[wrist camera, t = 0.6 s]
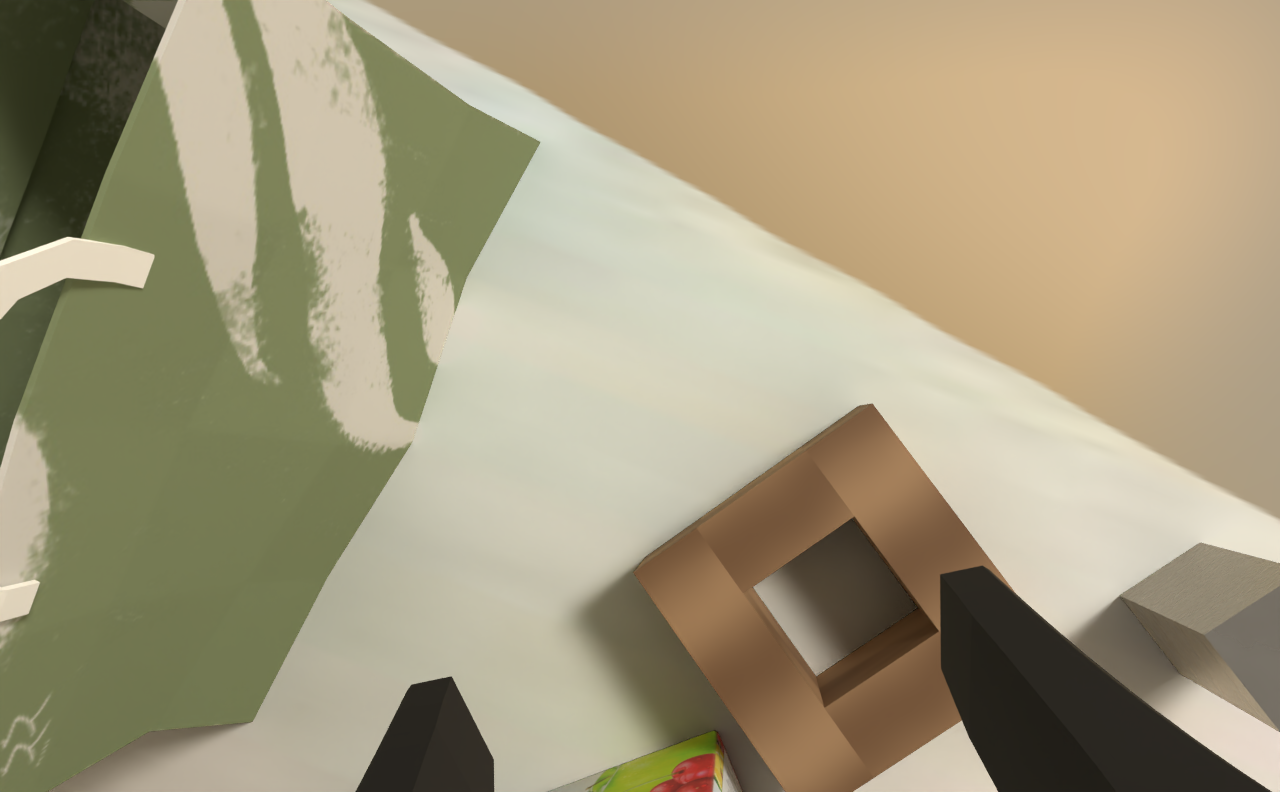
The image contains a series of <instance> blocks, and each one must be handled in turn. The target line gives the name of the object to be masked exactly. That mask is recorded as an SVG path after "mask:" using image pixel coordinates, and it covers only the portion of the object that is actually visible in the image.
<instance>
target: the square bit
mask: <svg viewBox="0 0 1280 792" xmlns="http://www.w3.org/2000/svg"><path fill="white" fill-rule="evenodd" d="M1120 597H1121V598H1122V599H1123V601H1124V602H1125V603H1126V604H1127V606H1128V607H1129V608H1130V610H1131V611H1132V612H1133V614H1134V615H1135V616H1136V617H1137V619H1138V620H1139V621H1140V623H1141V624H1142V625H1143V626H1144V628H1145V629H1146V630H1147V632H1148V633H1149V634H1150V636H1151V637H1152V638H1153V639H1154V641H1155V642H1156V643H1157V645H1158V646H1159V647H1160V649H1161V650H1162V651H1163V652H1164V654H1165V655H1166V656H1167V658H1168V659H1169V660H1170V661H1171V663H1172V664H1173V665H1174V667H1175V668H1176V669H1177V671H1178V672H1179V673H1180V674H1181V675H1183V676H1184V677H1186V678H1188V679H1190V680H1191V681H1193V682H1195V683H1196V684H1198V685H1200V686H1202V687H1203V688H1205V689H1207V690H1208V691H1210V692H1212V693H1214V694H1215V695H1217V696H1219V697H1220V698H1222V699H1224V700H1226V701H1227V702H1229V703H1231V704H1232V705H1234V706H1236V707H1238V708H1239V709H1241V710H1243V711H1245V712H1246V713H1248V714H1250V715H1251V716H1253V717H1255V718H1257V719H1258V720H1260V721H1262V722H1263V723H1265V724H1267V725H1269V726H1270V727H1272V728H1274V729H1275V730H1277V731H1279V732H1280V563H1276V562H1273V561H1269V560H1265V559H1261V558H1257V557H1254V556H1250V555H1246V554H1242V553H1238V552H1235V551H1231V550H1227V549H1223V548H1219V547H1216V546H1212V545H1208V544H1204V543H1199V544H1197V545H1196V546H1194V547H1193V548H1191V549H1190V550H1188V551H1186V552H1185V553H1183V554H1182V555H1180V556H1179V557H1177V558H1176V559H1174V560H1173V561H1171V562H1170V563H1168V564H1167V565H1165V566H1164V567H1162V568H1161V569H1159V570H1158V571H1156V572H1155V573H1153V574H1152V575H1150V576H1148V577H1147V578H1145V579H1144V580H1142V581H1141V582H1139V583H1138V584H1136V585H1135V586H1133V587H1132V588H1130V589H1129V590H1127V591H1126V592H1124V593H1123V594H1121V595H1120Z"/></svg>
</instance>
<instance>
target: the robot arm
mask: <svg viewBox="0 0 1280 792" xmlns="http://www.w3.org/2000/svg"><path fill="white" fill-rule="evenodd" d="M940 631H941V670H942V672H943V675H944V677H945V680H946V682H947V685H948V687H949V690H950V692H951V695H952V697H953V700H954V702H955V705H956V707H957V709H958V712H959V714H960V717H961V719H962V721H963V724H964V726H965V728H966V731H967V733H968V736H969V738H970V740H971V742H972V743H973V745H974V747H975V749H976V751H977V753H978V755H979V757H980V758H981V760H982V762H983V764H984V766H985V768H986V770H987V771H988V773H989V775H990V777H991V779H992V781H993V783H994V784H995V786H996V788H997V790H998V792H1271V791H1270V790H1268V789H1267V788H1265V787H1264V786H1262V785H1261V784H1259V783H1258V782H1256V781H1255V780H1253V779H1252V778H1250V777H1249V776H1247V775H1246V774H1244V773H1243V772H1241V771H1240V770H1238V769H1237V768H1235V767H1234V766H1232V765H1231V764H1229V763H1228V762H1227V761H1225V760H1224V759H1222V758H1221V757H1219V756H1218V755H1216V754H1215V753H1214V752H1212V751H1211V750H1209V749H1208V748H1207V747H1205V746H1204V745H1202V744H1201V743H1200V742H1198V741H1197V740H1195V739H1194V738H1193V737H1191V736H1190V735H1189V734H1187V733H1186V732H1184V731H1183V730H1182V729H1180V728H1179V727H1178V726H1176V725H1175V724H1174V723H1172V722H1171V721H1170V720H1168V719H1167V718H1166V717H1164V716H1163V715H1161V714H1160V713H1159V712H1157V711H1156V710H1155V709H1153V708H1152V707H1151V706H1150V705H1148V704H1147V703H1146V702H1144V701H1143V700H1142V699H1140V698H1139V697H1138V696H1137V695H1135V694H1134V693H1133V692H1131V691H1130V690H1129V689H1128V688H1126V687H1125V686H1124V685H1123V684H1121V683H1120V682H1119V681H1118V680H1116V679H1115V678H1114V677H1113V676H1112V675H1110V674H1109V673H1108V672H1107V671H1105V670H1104V669H1103V668H1102V667H1100V666H1099V665H1098V664H1097V663H1095V662H1094V661H1093V660H1092V659H1090V658H1089V657H1088V656H1087V655H1086V654H1084V653H1083V652H1082V651H1081V650H1080V649H1078V648H1077V647H1076V646H1075V645H1074V644H1072V643H1071V642H1070V641H1069V640H1068V639H1067V638H1065V637H1064V636H1063V635H1062V634H1061V633H1060V632H1058V631H1057V630H1056V629H1055V628H1054V627H1053V626H1051V625H1050V624H1049V623H1048V622H1047V621H1046V620H1045V619H1043V618H1042V617H1041V616H1040V615H1039V614H1038V613H1037V612H1036V611H1034V610H1033V609H1032V608H1031V607H1030V606H1029V605H1028V604H1027V603H1025V602H1024V601H1023V600H1022V599H1021V598H1020V597H1019V596H1018V595H1017V594H1015V593H1014V592H1013V591H1012V590H1011V589H1010V588H1009V587H1008V586H1007V585H1006V584H1005V583H1003V582H1002V581H1001V580H1000V579H999V578H998V577H997V576H996V575H995V574H994V573H993V572H992V571H990V570H989V569H988V568H986V567H984V566H983V565H982V566H977V567H973V568H968V569H963V570H958V571H953V572H949V573H944V574H940ZM356 792H494V759H493V757H492V755H491V753H490V751H489V749H488V747H487V745H486V743H485V741H484V740H483V738H482V736H481V734H480V732H479V730H478V728H477V726H476V724H475V722H474V720H473V718H472V716H471V714H470V712H469V710H468V708H467V706H466V704H465V702H464V700H463V698H462V696H461V694H460V692H459V690H458V688H457V686H456V684H455V682H454V680H453V678H452V676H451V677H446V678H442V679H437V680H432V681H427V682H422V683H418V684H413V685H411V686H410V688H409V689H408V690H407V692H406V694H405V696H404V698H403V700H402V702H401V704H400V706H399V708H398V710H397V712H396V714H395V716H394V718H393V720H392V722H391V724H390V726H389V728H388V730H387V732H386V734H385V736H384V738H383V740H382V742H381V744H380V746H379V748H378V750H377V752H376V754H375V756H374V758H373V759H372V761H371V763H370V765H369V767H368V769H367V771H366V773H365V775H364V777H363V779H362V781H361V783H360V784H359V786H358V788H357V790H356Z"/></svg>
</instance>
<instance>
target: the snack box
mask: <svg viewBox="0 0 1280 792" xmlns="http://www.w3.org/2000/svg"><path fill="white" fill-rule="evenodd" d="M548 792H743V791H742V789H741V787H740V784H739V782H738V779H737V777H736V775H735V772H734V770H733V767H732V765H731V762H730V760H729V757H728V755H727V752H726V750H725V747H724V745H723V743H722V741H721V738H720V736H719V734H718V732H716V731H711V732H708V733H705V734H703V735H700V736H697V737H694V738H691V739H689V740H686V741H684V742H681V743H678V744H676V745H673V746H670V747H667V748H665V749H662V750H659V751H656V752H653V753H651V754H648V755H645V756H642V757H640V758H637V759H635V760H632V761H630V762H627V763H624V764H622V765H619V766H616V767H613V768H611V769H608V770H605V771H603V772H600V773H597V774H595V775H592V776H589V777H587V778H584V779H581V780H579V781H576V782H573V783H570V784H568V785H565V786H562V787H560V788H557V789H554V790H551V791H548Z"/></svg>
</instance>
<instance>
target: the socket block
mask: <svg viewBox="0 0 1280 792" xmlns="http://www.w3.org/2000/svg"><path fill="white" fill-rule="evenodd" d="M851 518H852V519H853V520H854V521H855V523H856V524H857V525H858V527H859V528H860V530H861V531H862V532H863V534H864V535H865V536H866V538H867V539H868V540H869V542H870V543H871V544H872V546H873V547H874V549H875V550H876V551H877V553H878V554H879V555H880V557H881V558H882V559H883V561H884V562H885V563H886V565H887V566H888V568H889V569H890V570H891V572H892V573H893V574H894V576H895V577H896V578H897V580H898V581H899V582H900V584H901V585H902V587H903V588H904V589H905V591H906V592H907V593H908V595H909V596H910V597H911V599H912V600H913V601H914V603H915V604H916V606H917V607H918V609H916V610H915V611H913V612H912V613H910V614H909V615H907V616H906V617H904V618H903V619H901V620H900V621H898V622H897V623H895V624H894V625H892V626H891V627H890V628H888V629H887V630H885V631H884V632H882V633H881V634H879V635H878V636H876V637H875V638H873V639H872V640H870V641H869V642H867V643H866V644H864V645H863V646H861V647H860V648H858V649H857V650H855V651H854V652H852V653H851V654H849V655H848V656H847V657H845V658H844V659H842V660H841V661H839V662H838V663H836V664H835V665H833V666H832V667H830V668H829V669H827V670H826V671H824V672H823V673H821V674H820V675H818V676H817V677H816V676H815V674H814V673H813V671H812V670H811V669H810V667H809V666H808V664H807V663H806V662H805V660H804V659H803V657H802V656H801V655H800V653H799V652H798V650H797V649H796V648H795V646H794V645H793V643H792V642H791V640H790V639H789V638H788V636H787V635H786V633H785V632H784V631H783V629H782V628H781V626H780V625H779V624H778V622H777V621H776V619H775V618H774V617H773V615H772V614H771V612H770V611H769V610H768V608H767V607H766V605H765V604H764V603H763V601H762V600H761V598H760V597H759V596H758V594H757V593H756V591H755V590H754V589H753V586H755V585H756V584H758V583H759V582H761V581H762V580H763V579H765V578H766V577H768V576H769V575H771V574H772V573H774V572H775V571H776V570H778V569H779V568H781V567H782V566H784V565H785V564H787V563H788V562H789V561H791V560H792V559H794V558H795V557H797V556H798V555H800V554H801V553H802V552H804V551H805V550H807V549H808V548H810V547H811V546H813V545H814V544H815V543H817V542H818V541H820V540H821V539H823V538H824V537H826V536H827V535H828V534H830V533H831V532H833V531H834V530H836V529H837V528H839V527H840V526H841V525H843V524H844V523H846V522H847V521H849V520H850V519H851ZM982 565H983V566H984V567H986V568H988V569H989V570H990V571H992V572H993V573H994V574H995V575H996V576H997V577H998V578H999V579H1000V580H1001V581H1002V582H1003V583H1005V584H1006V585H1007V586H1008V587H1009V588H1010V589H1011V590H1012V591H1013V589H1012V588H1011V587H1010V585H1009V584H1008V583H1007V581H1006V580H1005V579H1004V577H1003V576H1002V575H1001V573H1000V572H999V571H998V569H997V568H996V567H995V565H994V564H993V563H992V561H991V560H990V559H989V558H988V556H987V555H986V554H985V552H984V551H983V550H982V548H981V547H980V546H979V544H978V543H977V542H976V540H975V539H974V538H973V536H972V535H971V534H970V532H969V531H968V530H967V528H966V527H965V526H964V524H963V523H962V522H961V520H960V519H959V518H958V516H957V515H956V514H955V512H954V511H953V510H952V508H951V507H950V506H949V504H948V503H947V502H946V501H945V499H944V498H943V497H942V495H941V494H940V493H939V491H938V490H937V489H936V487H935V486H934V485H933V483H932V482H931V481H930V479H929V478H928V477H927V475H926V474H925V473H924V471H923V470H922V469H921V467H920V466H919V465H918V463H917V462H916V461H915V459H914V458H913V457H912V455H911V454H910V453H909V451H908V450H907V449H906V447H905V446H904V445H903V444H902V442H901V441H900V440H899V438H898V437H897V436H896V434H895V433H894V432H893V430H892V429H891V428H890V426H889V425H888V424H887V422H886V421H885V420H884V418H883V417H882V416H881V414H880V413H879V412H878V410H877V409H876V408H875V406H874V405H873V404H867V405H860V406H858V407H857V408H855V409H854V410H852V411H851V412H850V413H848V414H847V415H845V416H844V417H842V418H841V419H840V420H838V421H837V422H835V423H834V424H833V425H831V426H830V427H828V428H827V429H826V430H824V431H823V432H821V433H820V434H818V435H817V436H816V437H814V438H813V439H811V440H810V441H809V442H807V443H806V444H804V445H803V446H802V447H800V448H799V449H797V450H796V451H794V452H793V453H792V454H790V455H789V456H787V457H786V458H785V459H783V460H782V461H780V462H779V463H778V464H776V465H775V466H773V467H772V468H770V469H769V470H768V471H766V472H765V473H763V474H762V475H761V476H759V477H758V478H756V479H755V480H754V481H752V482H751V483H749V484H748V485H746V486H745V487H744V488H742V489H741V490H739V491H738V492H737V493H735V494H734V495H732V496H731V497H730V498H728V499H727V500H725V501H724V502H722V503H721V504H720V505H718V506H717V507H715V508H714V509H713V510H711V511H710V512H708V513H707V514H706V515H704V516H703V517H701V518H700V519H698V520H697V521H696V522H694V523H693V524H691V525H690V526H689V527H687V528H686V529H684V530H683V531H682V532H680V533H679V534H677V535H676V536H674V537H673V538H672V539H670V540H669V541H667V542H666V543H665V544H663V545H662V546H660V547H659V548H657V549H656V550H655V551H653V552H652V553H650V554H649V555H648V556H646V557H645V558H644V560H643V561H642V562H641V563H640V565H639V566H638V567H637V569H636V570H635V571H634V572H633V573H634V574H635V576H636V577H637V579H638V580H639V582H640V583H641V584H642V586H643V587H644V589H645V590H646V592H647V593H648V595H649V596H650V597H651V599H652V600H653V602H654V603H655V605H656V606H657V608H658V609H659V610H660V612H661V613H662V615H663V616H664V618H665V619H666V620H667V622H668V623H669V625H670V626H671V628H672V629H673V631H674V632H675V633H676V635H677V636H678V638H679V639H680V641H681V642H682V644H683V645H684V646H685V648H686V649H687V651H688V652H689V654H690V655H691V656H692V658H693V659H694V661H695V662H696V664H697V665H698V667H699V668H700V669H701V671H702V672H703V674H704V675H705V677H706V678H707V680H708V681H709V682H710V684H711V685H712V687H713V688H714V690H715V691H716V692H717V694H718V695H719V697H720V698H721V700H722V701H723V703H724V704H725V705H726V707H727V708H728V710H729V711H730V713H731V714H732V715H733V717H734V718H735V720H736V721H737V723H738V724H739V726H740V727H741V728H742V730H743V731H744V733H745V734H746V736H747V737H748V739H749V740H750V741H751V743H752V744H753V746H754V747H755V749H756V750H757V751H758V753H759V754H760V756H761V757H762V759H763V760H764V762H765V763H766V764H767V766H768V767H769V769H770V770H771V772H772V773H773V775H774V776H775V777H776V779H777V780H778V782H779V783H780V785H781V786H782V787H783V789H784V790H785V792H853V791H854V790H856V789H858V788H859V787H861V786H862V785H864V784H865V783H867V782H868V781H870V780H871V779H873V778H874V777H876V776H877V775H879V774H880V773H882V772H884V771H885V770H887V769H888V768H890V767H891V766H893V765H894V764H896V763H897V762H899V761H900V760H902V759H903V758H905V757H906V756H908V755H909V754H911V753H913V752H914V751H916V750H917V749H919V748H920V747H922V746H923V745H925V744H926V743H928V742H929V741H931V740H932V739H934V738H935V737H937V736H938V735H940V734H942V733H943V732H945V731H946V730H948V729H949V728H951V727H952V726H954V725H955V724H957V723H958V722H960V721H961V720H962V719H961V717H960V714H959V712H958V709H957V707H956V705H955V702H954V700H953V697H952V695H951V692H950V690H949V687H948V685H947V682H946V680H945V677H944V675H943V672H942V670H941V631H940V574H944V573H949V572H953V571H958V570H963V569H968V568H973V567H977V566H982ZM1013 592H1014V591H1013ZM1014 593H1015V592H1014ZM1015 594H1016V593H1015Z"/></svg>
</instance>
